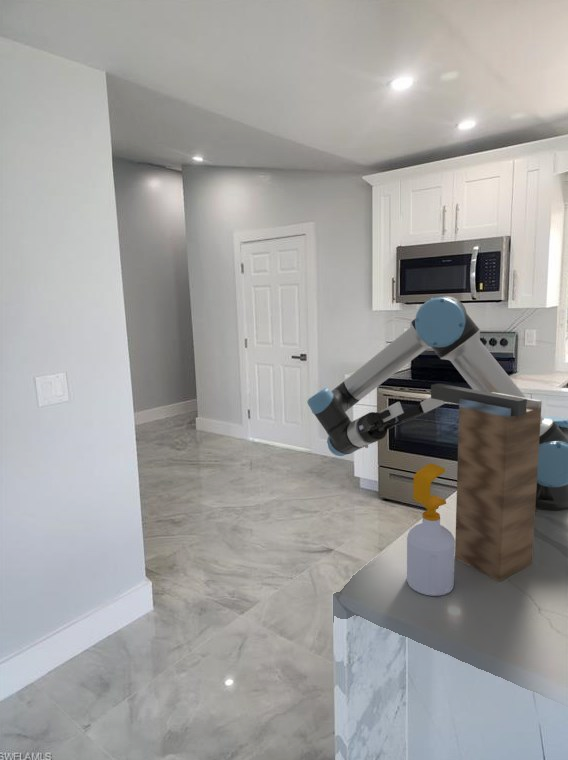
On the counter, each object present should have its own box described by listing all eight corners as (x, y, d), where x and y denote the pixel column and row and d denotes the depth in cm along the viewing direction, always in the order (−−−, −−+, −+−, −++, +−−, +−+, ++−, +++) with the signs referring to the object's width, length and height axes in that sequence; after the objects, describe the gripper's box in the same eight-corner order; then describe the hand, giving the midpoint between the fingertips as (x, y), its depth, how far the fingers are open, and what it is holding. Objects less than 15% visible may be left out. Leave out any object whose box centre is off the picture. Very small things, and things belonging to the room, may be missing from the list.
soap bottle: (463, 587, 99) (467, 469, 95) (430, 602, 95) (432, 479, 90) (429, 566, 107) (431, 456, 102) (397, 579, 103) (398, 465, 98)
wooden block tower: (453, 556, 110) (457, 399, 104) (485, 542, 116) (491, 391, 109) (499, 581, 101) (507, 409, 94) (532, 563, 106) (541, 400, 100)
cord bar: (430, 398, 112) (431, 384, 112) (438, 396, 113) (439, 383, 113) (517, 416, 95) (518, 401, 94) (526, 414, 96) (526, 399, 95)
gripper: (406, 434, 139) (463, 409, 122) (335, 452, 126) (387, 427, 109) (396, 409, 141) (451, 381, 124) (325, 424, 128) (375, 395, 111)
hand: (421, 402), depth 116 cm, fingers open, 13 cm apart
